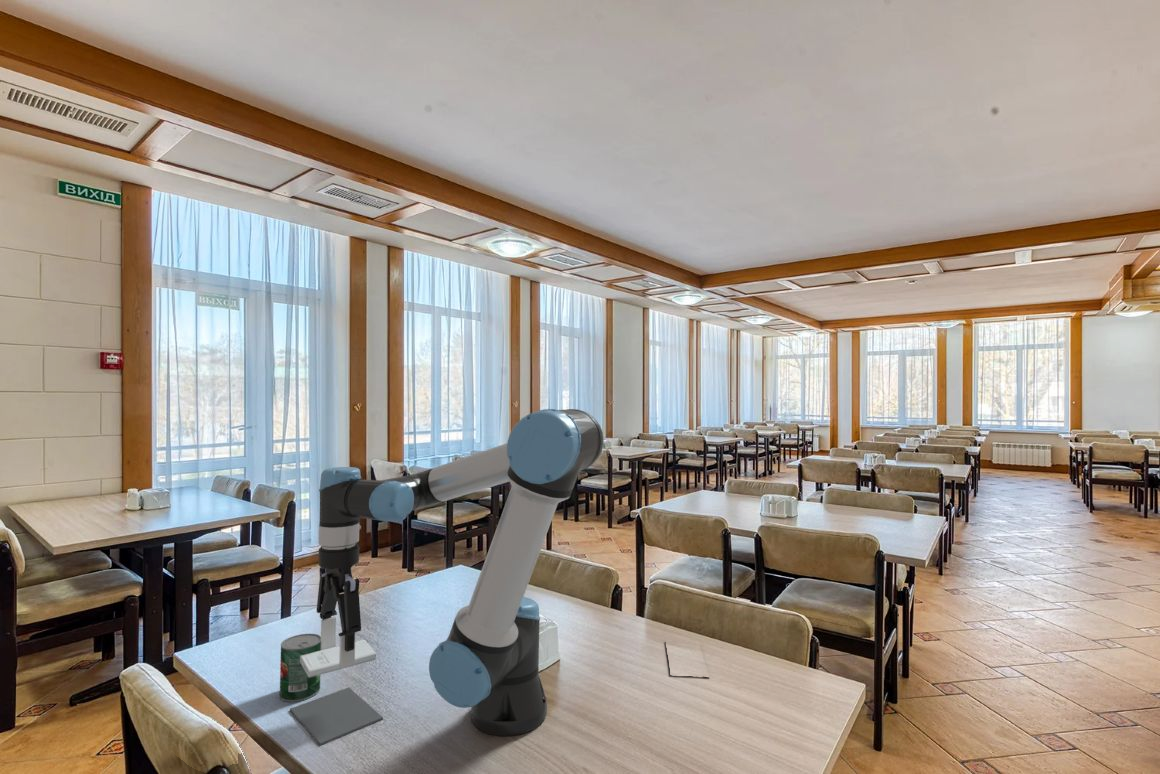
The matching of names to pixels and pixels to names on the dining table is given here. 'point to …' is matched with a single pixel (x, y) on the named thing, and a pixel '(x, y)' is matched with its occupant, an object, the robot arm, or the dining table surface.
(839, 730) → the dining table surface
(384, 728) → the dining table surface
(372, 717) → the mat
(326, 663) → the external hard drive
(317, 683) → the canned tomato
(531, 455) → the robot arm
